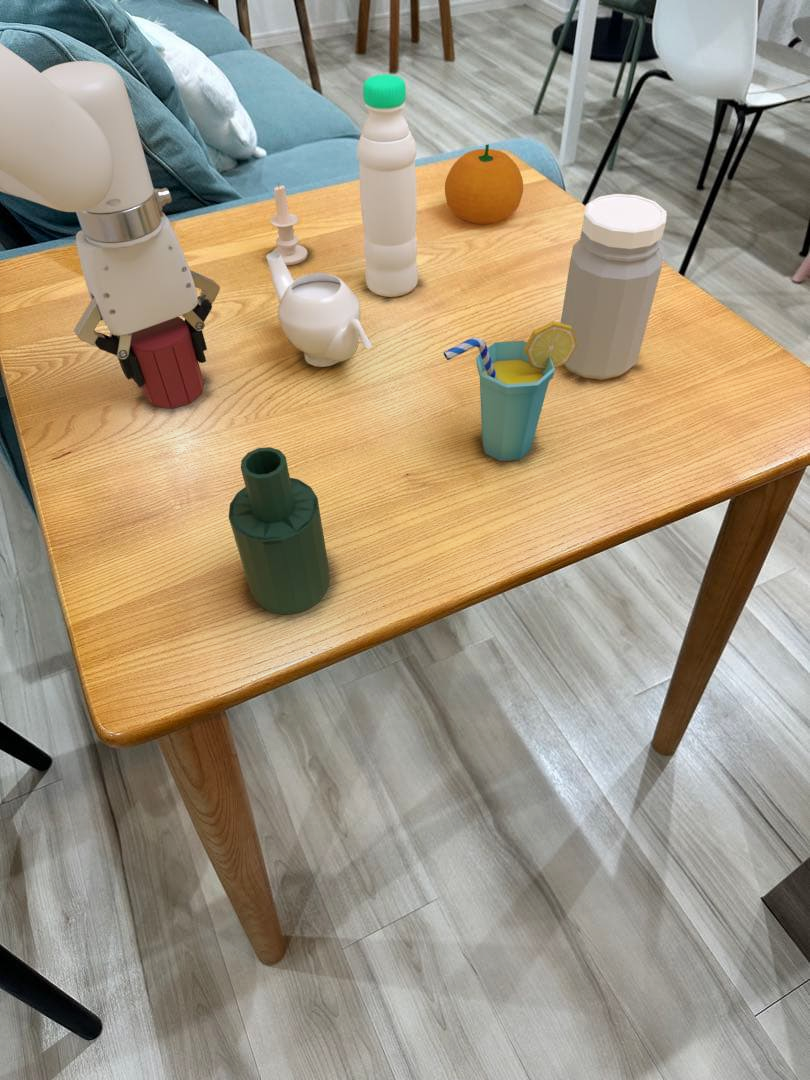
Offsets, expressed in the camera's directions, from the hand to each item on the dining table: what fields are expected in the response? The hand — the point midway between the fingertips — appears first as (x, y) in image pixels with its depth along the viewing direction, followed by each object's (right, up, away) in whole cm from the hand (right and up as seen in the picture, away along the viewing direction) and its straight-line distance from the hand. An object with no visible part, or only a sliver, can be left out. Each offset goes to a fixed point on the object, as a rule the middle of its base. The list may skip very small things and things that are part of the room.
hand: (168, 367), depth 85 cm
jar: (+50, +2, +5) cm, 50 cm away
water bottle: (+25, +15, +17) cm, 34 cm away
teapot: (+17, +3, +6) cm, 19 cm away
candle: (+10, +21, +22) cm, 32 cm away
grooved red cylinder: (0, -2, +2) cm, 3 cm away
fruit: (+39, +30, +30) cm, 58 cm away
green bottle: (+17, -24, -17) cm, 33 cm away
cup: (+37, -10, -5) cm, 39 cm away
